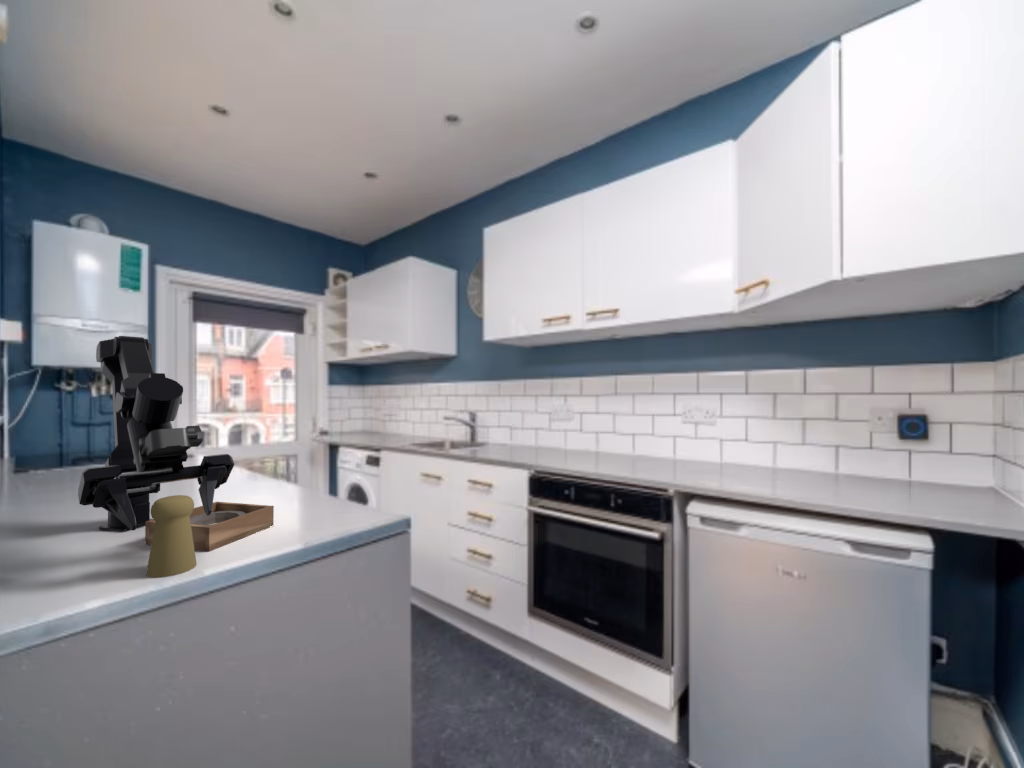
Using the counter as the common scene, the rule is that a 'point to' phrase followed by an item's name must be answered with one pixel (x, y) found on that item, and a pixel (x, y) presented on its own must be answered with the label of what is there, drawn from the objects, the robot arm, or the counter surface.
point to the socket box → (223, 524)
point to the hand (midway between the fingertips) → (174, 520)
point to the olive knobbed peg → (171, 537)
